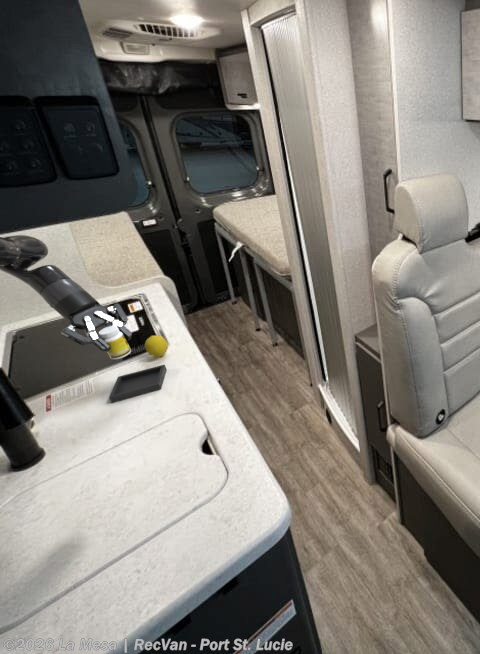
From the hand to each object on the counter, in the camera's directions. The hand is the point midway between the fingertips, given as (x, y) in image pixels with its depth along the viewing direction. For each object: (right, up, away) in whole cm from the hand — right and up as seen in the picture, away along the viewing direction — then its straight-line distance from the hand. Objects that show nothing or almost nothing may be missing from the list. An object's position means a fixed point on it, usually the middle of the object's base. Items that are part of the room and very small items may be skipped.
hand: (119, 343), depth 105 cm
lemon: (-5, -8, +21) cm, 23 cm away
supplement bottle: (-2, -4, +2) cm, 5 cm away
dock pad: (-1, -14, +8) cm, 16 cm away
